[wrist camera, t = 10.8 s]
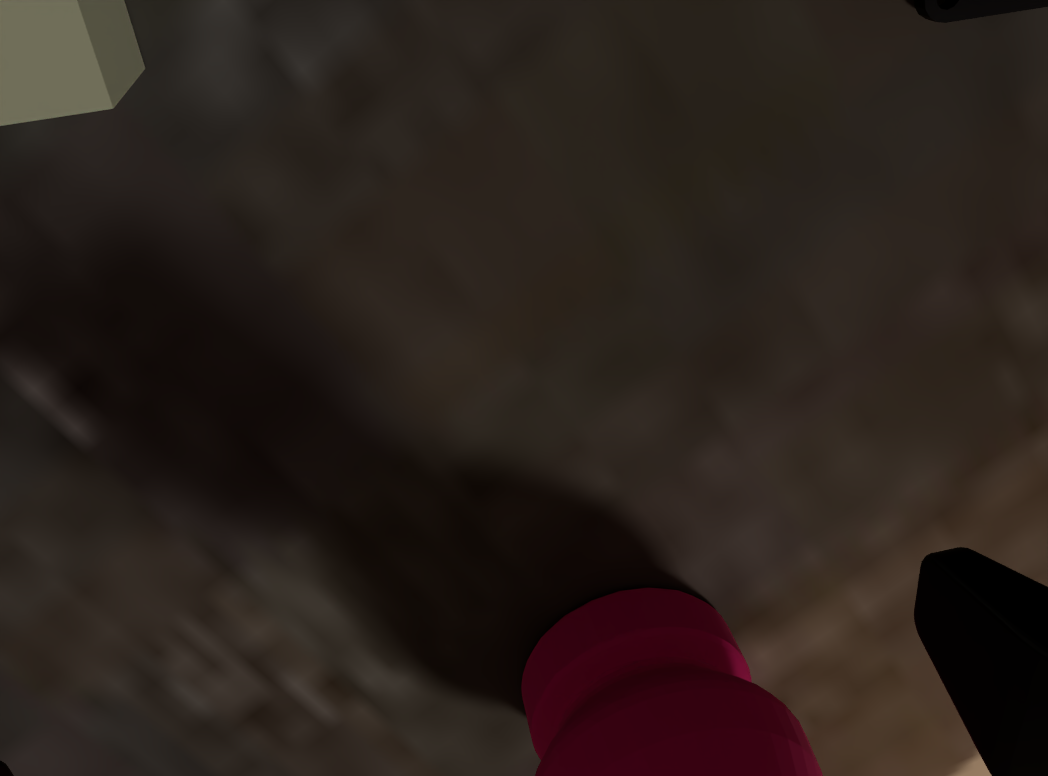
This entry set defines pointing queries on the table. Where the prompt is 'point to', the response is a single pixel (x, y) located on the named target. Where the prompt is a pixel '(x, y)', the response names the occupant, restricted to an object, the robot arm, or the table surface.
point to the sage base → (64, 57)
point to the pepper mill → (654, 695)
